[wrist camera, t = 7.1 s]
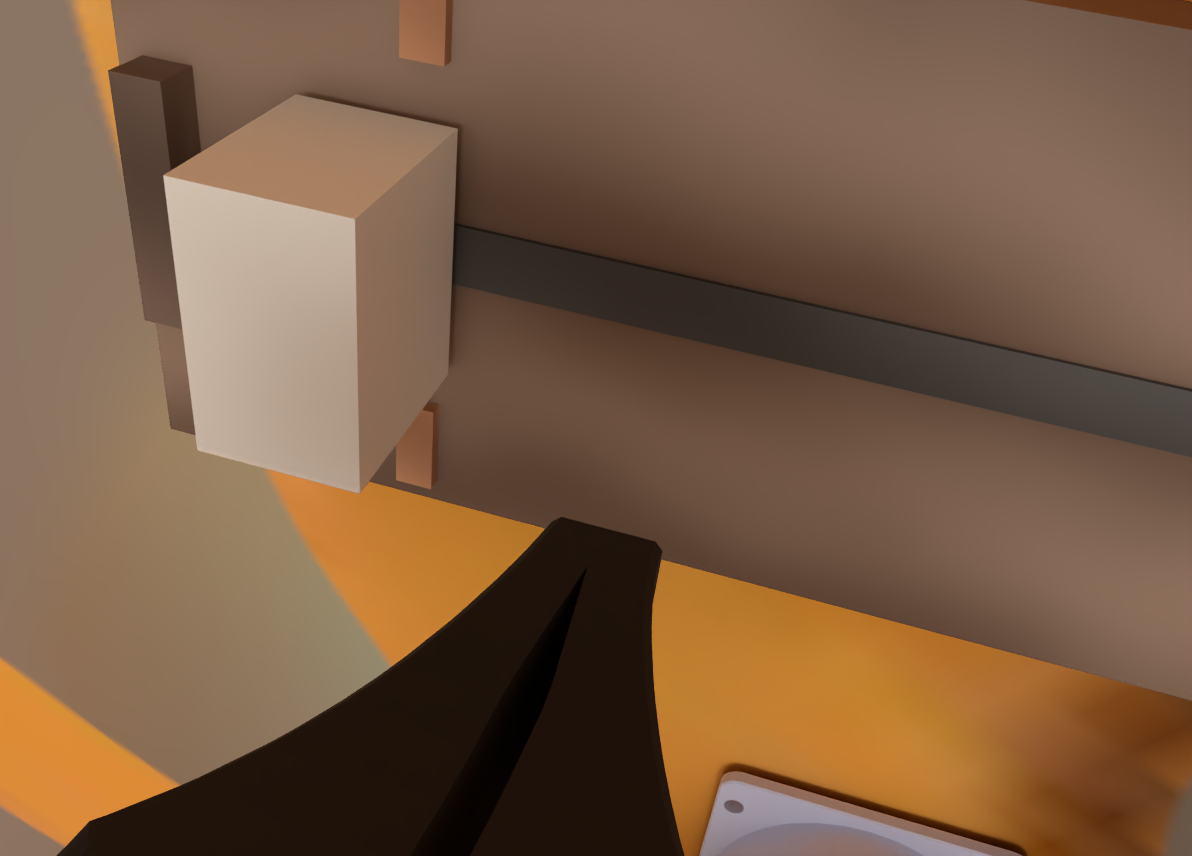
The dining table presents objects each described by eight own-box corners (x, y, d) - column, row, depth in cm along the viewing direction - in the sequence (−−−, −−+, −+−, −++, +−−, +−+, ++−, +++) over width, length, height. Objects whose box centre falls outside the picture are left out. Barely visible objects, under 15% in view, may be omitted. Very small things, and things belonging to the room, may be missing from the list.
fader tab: (448, 374, 21) (359, 493, 18) (307, 339, 22) (197, 450, 19) (457, 128, 19) (355, 219, 15) (296, 94, 19) (163, 176, 16)
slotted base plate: (1264, 653, 23) (1301, 767, 20) (218, 384, 26) (145, 453, 24) (1650, 82, 16) (1776, 152, 13) (158, -179, 19) (46, -161, 17)
